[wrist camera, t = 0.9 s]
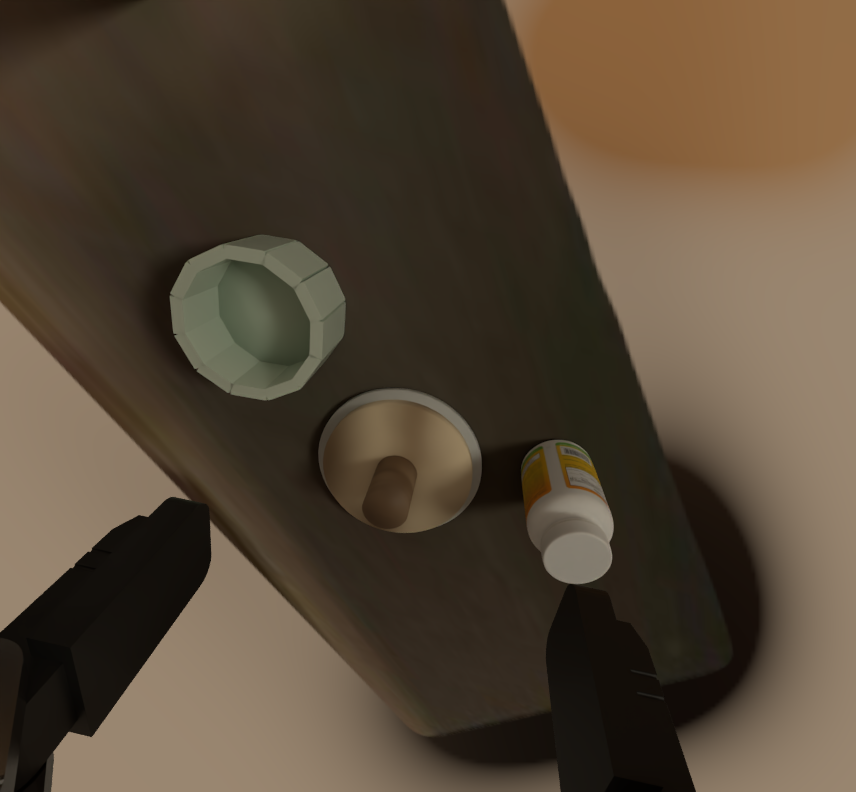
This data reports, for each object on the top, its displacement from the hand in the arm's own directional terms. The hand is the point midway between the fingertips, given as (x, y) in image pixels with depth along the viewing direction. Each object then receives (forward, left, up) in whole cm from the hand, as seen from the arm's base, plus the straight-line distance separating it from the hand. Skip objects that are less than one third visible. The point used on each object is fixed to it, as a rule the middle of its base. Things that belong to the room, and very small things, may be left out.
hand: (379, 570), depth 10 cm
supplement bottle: (+10, -11, -24) cm, 28 cm away
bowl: (-12, -2, -24) cm, 27 cm away
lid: (-2, -13, -24) cm, 27 cm away
